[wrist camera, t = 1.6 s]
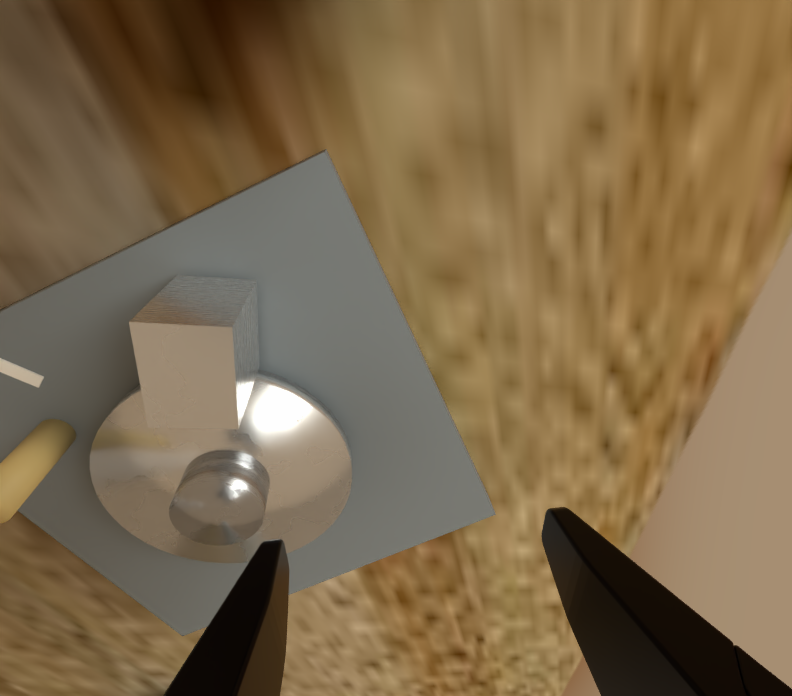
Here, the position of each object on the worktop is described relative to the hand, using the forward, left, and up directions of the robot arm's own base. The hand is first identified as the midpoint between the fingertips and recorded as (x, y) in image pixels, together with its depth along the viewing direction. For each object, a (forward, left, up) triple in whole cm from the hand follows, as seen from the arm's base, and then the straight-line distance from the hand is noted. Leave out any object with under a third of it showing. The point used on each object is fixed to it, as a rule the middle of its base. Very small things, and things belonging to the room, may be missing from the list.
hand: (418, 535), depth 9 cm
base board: (+10, +4, -13) cm, 17 cm away
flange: (+10, +2, -11) cm, 15 cm away
